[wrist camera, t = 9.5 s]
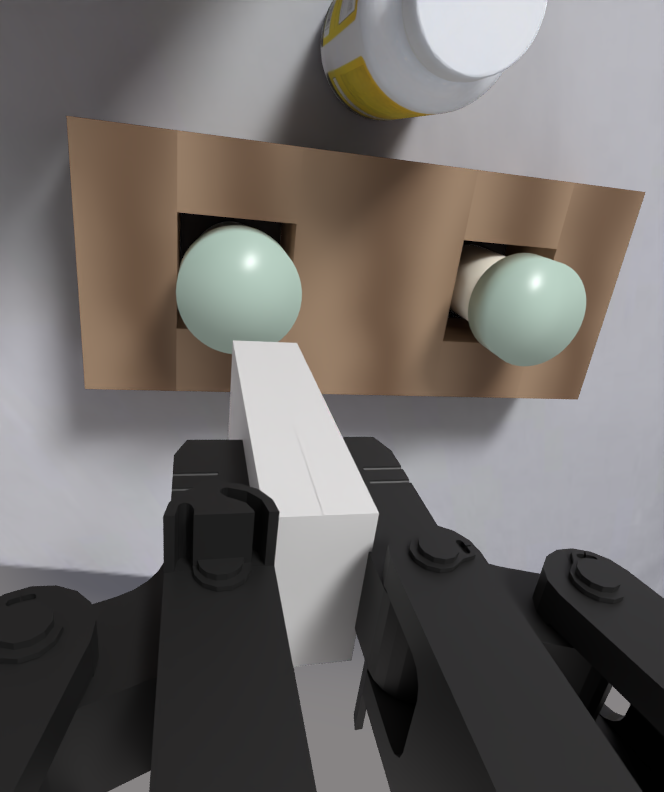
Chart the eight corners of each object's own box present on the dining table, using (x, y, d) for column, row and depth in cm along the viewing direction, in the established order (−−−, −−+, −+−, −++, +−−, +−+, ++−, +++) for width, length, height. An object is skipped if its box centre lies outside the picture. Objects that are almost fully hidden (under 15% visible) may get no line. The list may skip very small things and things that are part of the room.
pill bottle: (424, 130, 30) (541, 125, 20) (309, 109, 28) (370, 92, 18) (452, -12, 27) (603, -104, 17) (327, -45, 26) (411, -167, 15)
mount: (101, 353, 31) (84, 388, 27) (88, 120, 26) (66, 115, 22) (533, 369, 38) (577, 399, 34) (586, 185, 33) (645, 192, 29)
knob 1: (181, 302, 30) (175, 352, 23) (182, 204, 28) (176, 226, 21) (274, 308, 32) (296, 356, 25) (282, 214, 30) (307, 238, 22)
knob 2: (417, 317, 34) (475, 364, 27) (433, 230, 32) (501, 256, 24) (493, 321, 35) (568, 368, 28) (514, 238, 33) (600, 265, 26)
